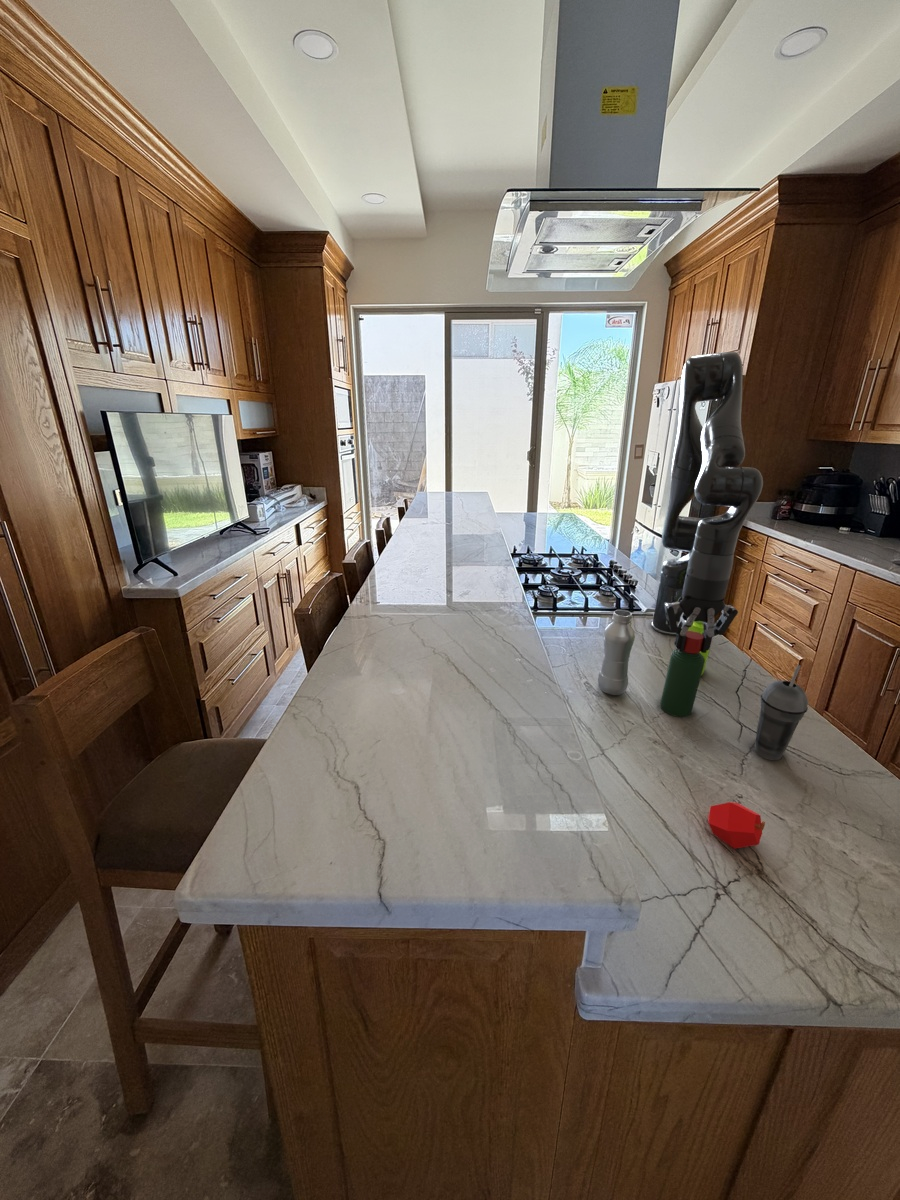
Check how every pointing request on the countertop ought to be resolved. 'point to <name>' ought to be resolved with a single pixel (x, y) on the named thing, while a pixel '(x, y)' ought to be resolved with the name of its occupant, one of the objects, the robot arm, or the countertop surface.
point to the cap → (693, 642)
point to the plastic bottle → (616, 654)
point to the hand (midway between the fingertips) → (690, 649)
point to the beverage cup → (779, 716)
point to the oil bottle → (682, 683)
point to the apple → (735, 824)
